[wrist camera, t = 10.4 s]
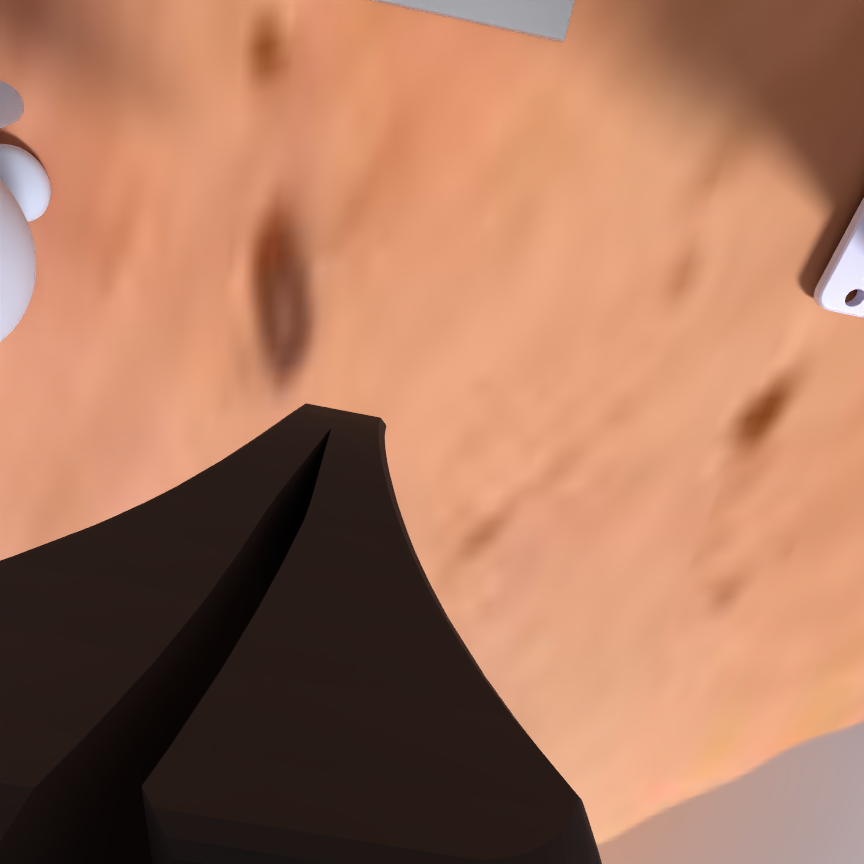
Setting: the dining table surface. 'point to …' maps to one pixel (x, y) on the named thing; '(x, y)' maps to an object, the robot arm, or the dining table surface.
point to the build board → (502, 14)
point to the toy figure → (17, 216)
